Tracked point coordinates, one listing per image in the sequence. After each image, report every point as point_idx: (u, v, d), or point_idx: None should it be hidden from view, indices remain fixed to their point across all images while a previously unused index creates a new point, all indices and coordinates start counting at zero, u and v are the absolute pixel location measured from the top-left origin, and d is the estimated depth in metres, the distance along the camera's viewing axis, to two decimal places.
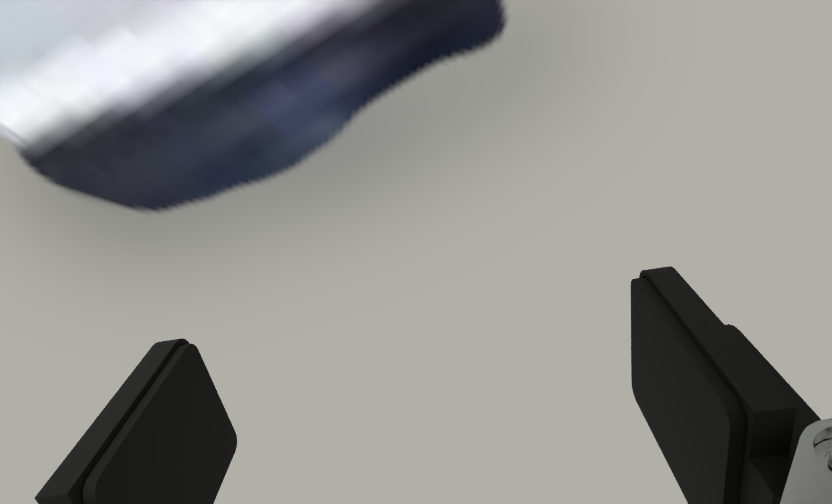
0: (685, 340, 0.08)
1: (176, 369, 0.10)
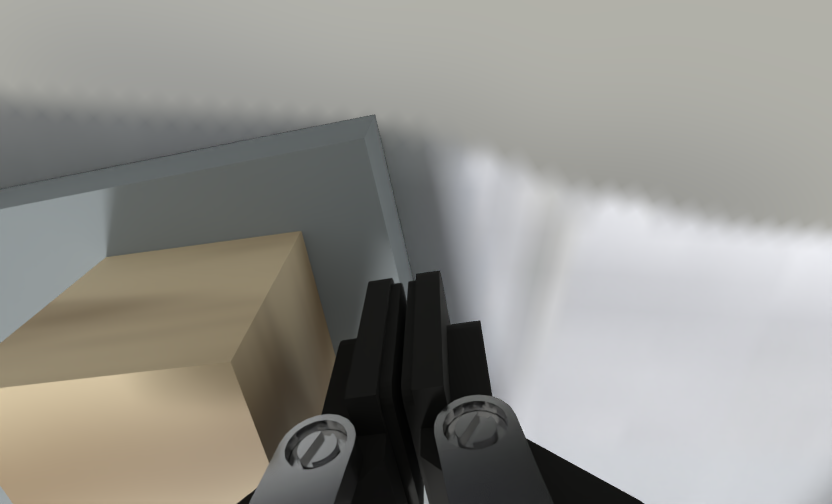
0: (408, 333, 0.10)
1: (399, 303, 0.11)
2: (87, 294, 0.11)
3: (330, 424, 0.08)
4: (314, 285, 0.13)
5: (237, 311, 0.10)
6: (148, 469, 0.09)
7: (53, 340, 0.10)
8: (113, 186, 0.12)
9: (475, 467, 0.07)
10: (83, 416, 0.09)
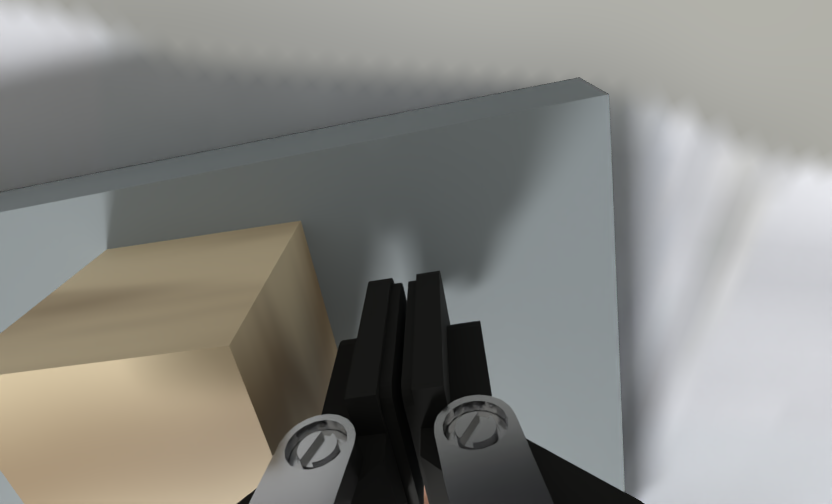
0: (408, 333, 0.10)
1: (399, 303, 0.11)
2: (87, 284, 0.11)
3: (330, 424, 0.08)
4: (314, 275, 0.13)
5: (236, 298, 0.10)
6: (148, 456, 0.09)
7: (54, 328, 0.10)
8: (334, 146, 0.12)
9: (475, 467, 0.07)
10: (83, 402, 0.09)
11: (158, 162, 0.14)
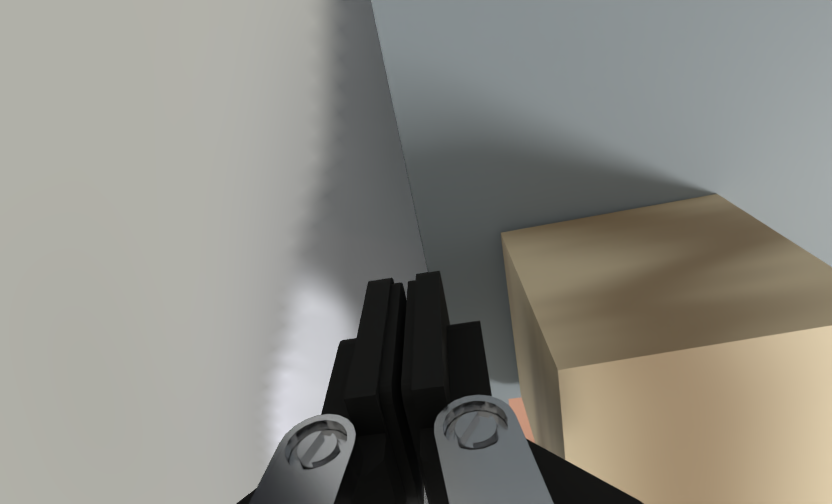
0: (408, 333, 0.10)
1: (399, 303, 0.11)
2: (535, 428, 0.12)
3: (330, 424, 0.08)
4: (563, 224, 0.12)
5: (536, 333, 0.09)
6: (691, 451, 0.09)
7: None
8: None
9: (475, 467, 0.07)
10: None
11: None
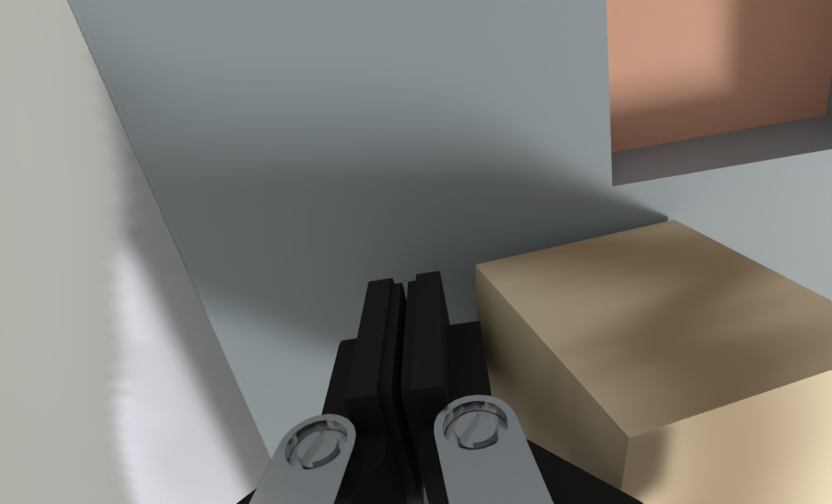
0: (408, 333, 0.10)
1: (399, 303, 0.11)
2: None
3: (330, 424, 0.08)
4: (540, 253, 0.11)
5: (564, 386, 0.08)
6: (726, 498, 0.08)
7: None
8: (92, 52, 0.11)
9: (475, 467, 0.07)
10: None
11: None
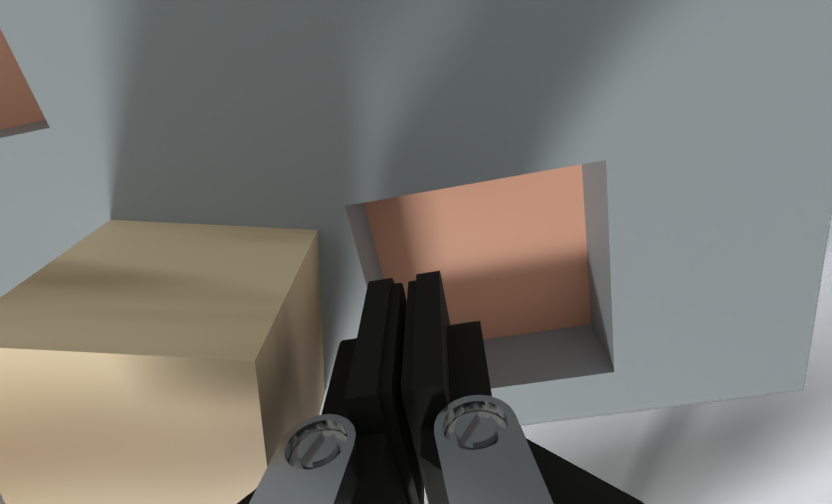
0: (408, 333, 0.10)
1: (399, 303, 0.11)
2: (93, 258, 0.11)
3: (330, 424, 0.08)
4: (319, 284, 0.13)
5: (257, 307, 0.10)
6: (141, 450, 0.09)
7: (60, 304, 0.09)
8: None
9: (475, 467, 0.07)
10: (87, 390, 0.09)
11: None
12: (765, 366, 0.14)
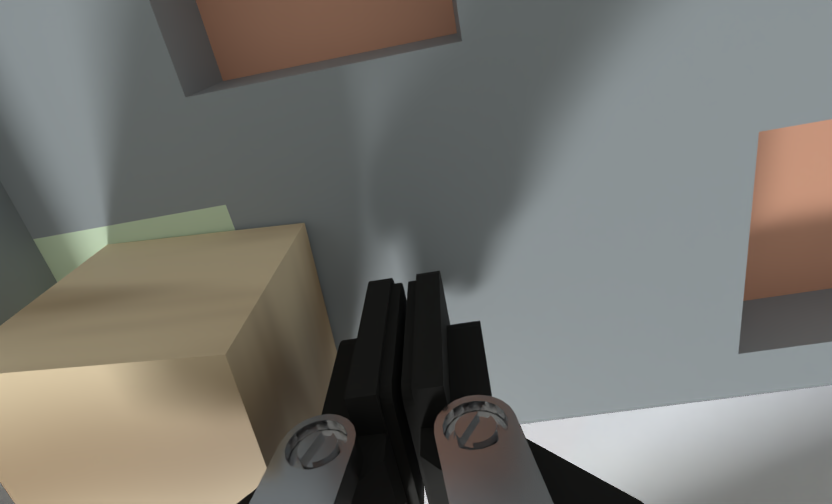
0: (408, 333, 0.10)
1: (399, 303, 0.11)
2: (86, 281, 0.11)
3: (330, 424, 0.08)
4: (316, 278, 0.13)
5: (235, 303, 0.09)
6: (141, 461, 0.09)
7: (49, 327, 0.10)
8: None
9: (475, 467, 0.07)
10: (75, 405, 0.09)
11: None
12: None
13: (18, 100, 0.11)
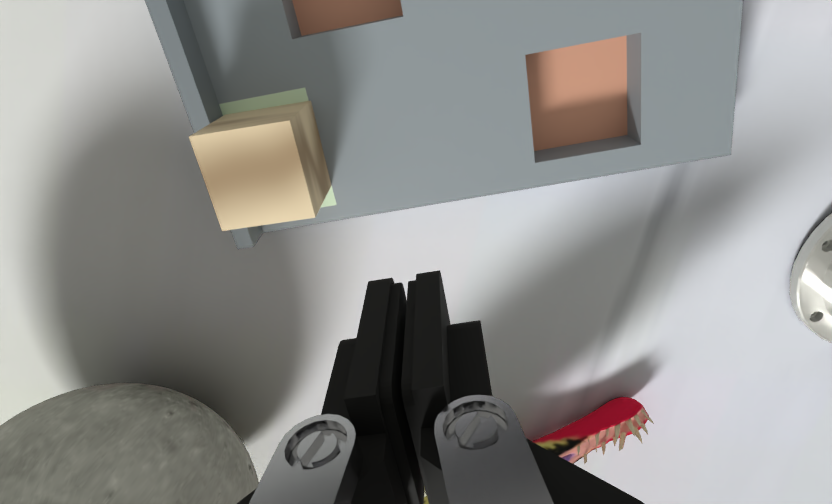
0: (408, 333, 0.10)
1: (399, 303, 0.11)
2: (225, 120, 0.28)
3: (330, 424, 0.08)
4: (316, 126, 0.30)
5: (289, 114, 0.26)
6: (258, 169, 0.26)
7: (221, 126, 0.26)
8: None
9: (475, 467, 0.07)
10: (238, 145, 0.25)
11: None
12: (712, 140, 0.30)
13: (223, 40, 0.28)
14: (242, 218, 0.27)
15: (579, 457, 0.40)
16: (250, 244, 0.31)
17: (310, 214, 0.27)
